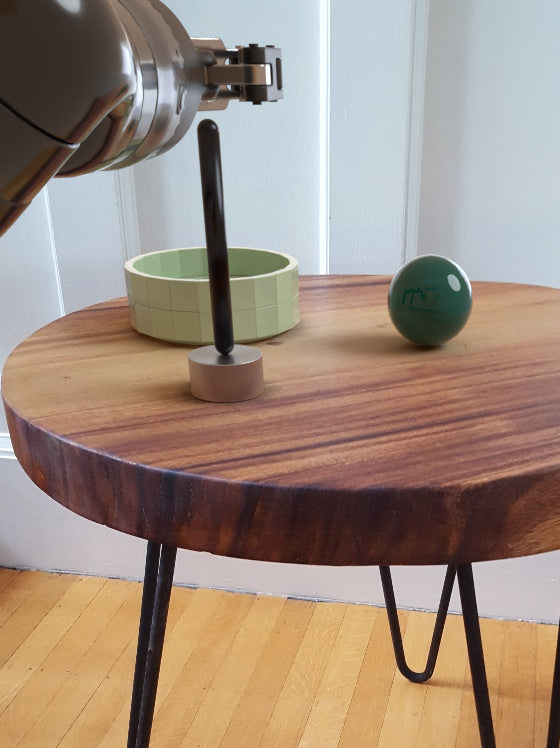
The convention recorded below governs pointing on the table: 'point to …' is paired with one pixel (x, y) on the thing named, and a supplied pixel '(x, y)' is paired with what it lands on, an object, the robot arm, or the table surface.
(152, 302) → the bowl
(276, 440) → the table surface
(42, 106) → the robot arm
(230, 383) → the joystick
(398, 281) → the sphere
